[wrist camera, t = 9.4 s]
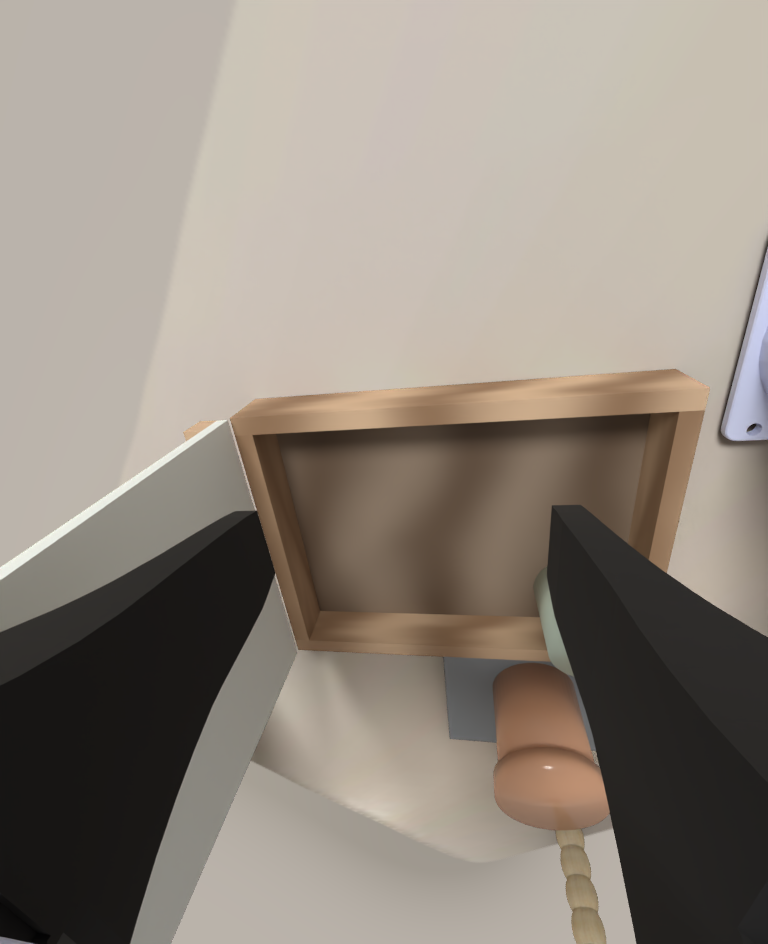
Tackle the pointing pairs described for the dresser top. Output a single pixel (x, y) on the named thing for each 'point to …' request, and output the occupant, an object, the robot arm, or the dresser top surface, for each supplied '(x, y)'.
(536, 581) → the pale green egg
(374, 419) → the wooden tray
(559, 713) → the terracotta pot
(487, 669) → the mat
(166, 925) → the lid
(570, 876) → the toy lamp
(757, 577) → the dresser top surface
